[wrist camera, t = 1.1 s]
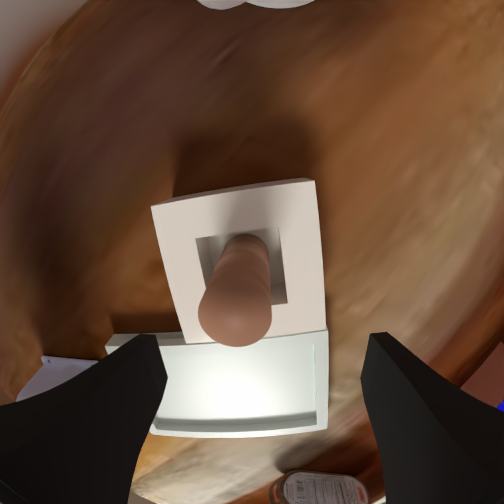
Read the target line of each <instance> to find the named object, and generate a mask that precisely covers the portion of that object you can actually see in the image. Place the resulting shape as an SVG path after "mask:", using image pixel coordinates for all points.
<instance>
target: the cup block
mask: <svg viewBox="0 0 504 504" xmlns="http://www.w3.org/2000/svg"><path fill="white" fill-rule="evenodd" d="M151 210H152V215H153V219H154V224H155V229H156V233H157V238H158V242H159V246H160V251H161V255H162V259H163V263H164V267H165V271H166V275H167V279H168V283H169V286H170V290H171V294H172V297H173V301H174V305H175V308H176V311H177V315H178V318H179V322H180V325H181V328H182V332H183V335H184V338H185V341H186V344H187V343H205V342H216V341H214V340H213V339H211V338H210V337H209V336H208V335H207V334H206V333H205V332H204V330H203V329H202V327H201V325H200V323H199V319H198V307H199V304H200V301H201V299H202V297H203V295H204V292H205V290H206V288H207V285H208V283H209V281H210V279H211V276H212V274H213V272H214V270H215V268H216V265H217V263H218V261H219V259H220V256H221V254H222V252H223V250H224V248H225V245H226V244H227V242H228V241H229V240H230V239H231V238H233V237H234V236H236V235H239V234H245V233H246V234H252V235H255V236H257V237H259V238H260V239H261V240H262V241H263V242H264V243H265V244H266V246H267V249H268V252H269V269H270V287H271V307H272V322H271V326H270V328H269V330H268V332H267V333H266V335H265V336H264V337H272V336H280V335H288V334H296V333H303V332H310V331H317V330H323V329H326V316H325V294H324V276H323V261H322V248H321V236H320V225H319V215H318V206H317V197H316V188H315V181H314V180H311V179H307V178H304V177H303V178H295V179H286V180H279V181H271V182H264V183H256V184H250V185H243V186H236V187H230V188H224V189H218V190H212V191H206V192H200V193H195V194H189V195H184V196H179V197H174V198H170V199H168V200H165V201H163V202H160V203H158V204H155V205H153V206H151Z"/></svg>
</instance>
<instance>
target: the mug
mask: <svg viewBox="0 0 504 504" xmlns="http://www.w3.org/2000/svg"><path fill="white" fill-rule="evenodd" d="M197 1H198V2H200V3H201V4H203V5H204V6H206V7H208V8H212V9H220V10H224V9H229V8H232V7H235V6H238V5H241V4H243V3H245V2H248V3H251V4H254V5H257V6H262V7H267V8H292V7H298V6H302V5H305V4H308V3H310V2H312V1H314V0H197Z"/></svg>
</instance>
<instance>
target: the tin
mask: <svg viewBox="0 0 504 504" xmlns="http://www.w3.org/2000/svg"><path fill="white" fill-rule="evenodd" d="M268 496H269V502H270V504H371V501H370V496H369V493H368V490H367V488H366V486H365V485H364V484H363V483H362V482H361V481H360V480H358V479H357V478H355V477H353V476H351V475H347V474H336V473H326V472H317V471H310V470H303V469H297V470H292V471H289V472H287V473H286V474H284V475H283V476H282V477H280V478H279V479H277V480H276V481H274V482H273V484H272V485H271V487H270V489H269V495H268Z"/></svg>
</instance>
